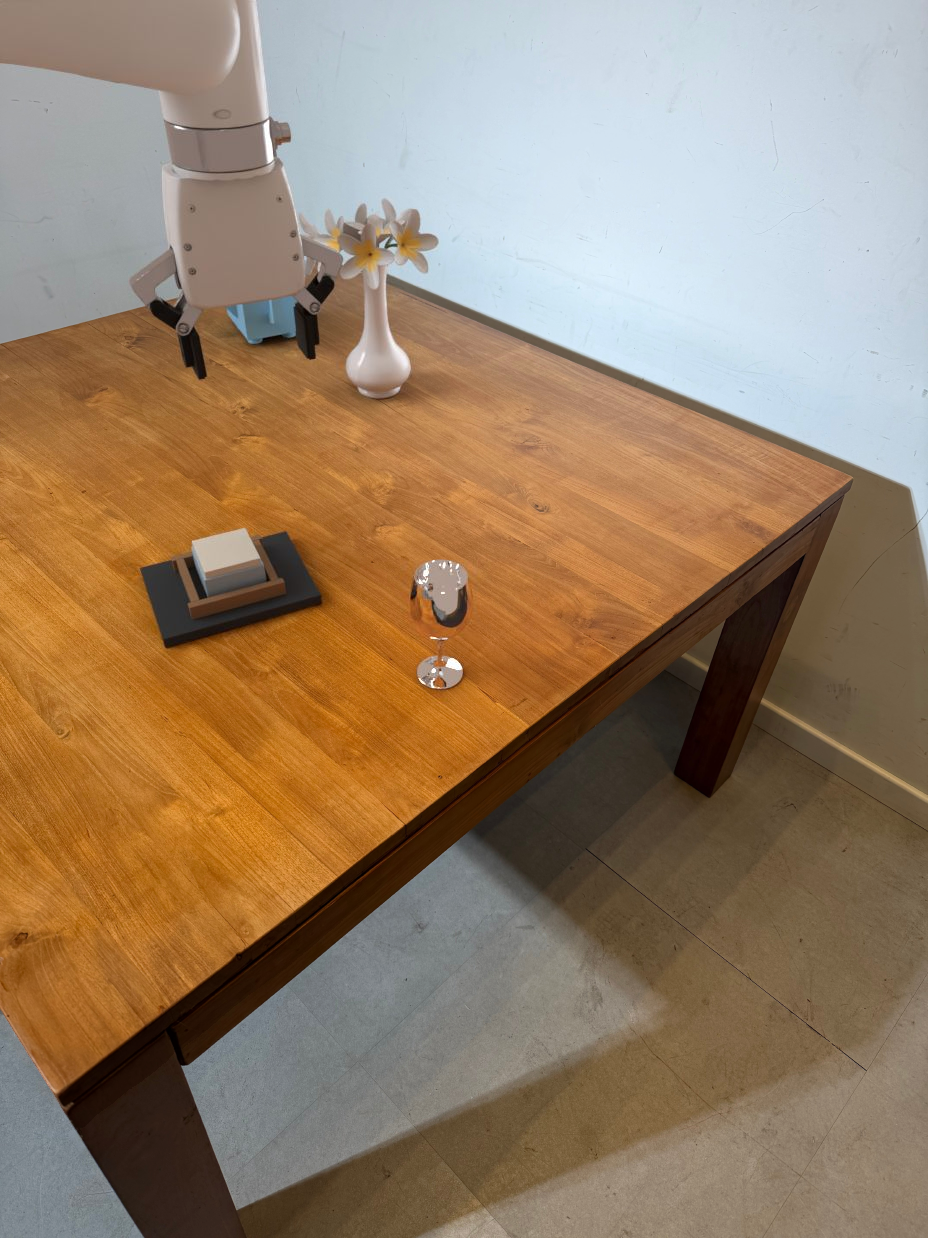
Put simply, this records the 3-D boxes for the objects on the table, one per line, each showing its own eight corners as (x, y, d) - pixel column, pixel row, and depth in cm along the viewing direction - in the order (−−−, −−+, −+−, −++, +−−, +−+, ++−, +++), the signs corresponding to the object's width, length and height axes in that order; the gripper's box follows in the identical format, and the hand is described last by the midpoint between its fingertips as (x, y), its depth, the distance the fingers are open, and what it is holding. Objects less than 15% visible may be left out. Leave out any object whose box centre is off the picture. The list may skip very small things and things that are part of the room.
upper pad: (210, 604, 84) (202, 574, 81) (196, 570, 88) (188, 540, 85) (268, 588, 86) (262, 558, 84) (252, 555, 90) (246, 525, 87)
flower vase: (319, 366, 126) (302, 186, 109) (441, 372, 125) (443, 193, 108) (302, 408, 116) (280, 218, 99) (433, 415, 116) (434, 226, 99)
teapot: (201, 321, 136) (188, 249, 128) (306, 303, 143) (299, 234, 135) (230, 361, 126) (217, 286, 118) (341, 340, 132) (336, 267, 125)
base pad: (165, 648, 81) (159, 627, 79) (142, 576, 89) (136, 555, 87) (322, 603, 87) (319, 583, 85) (287, 539, 94) (284, 519, 93)
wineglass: (417, 699, 77) (416, 603, 69) (403, 656, 81) (401, 560, 73) (476, 688, 78) (482, 592, 70) (460, 646, 83) (464, 551, 74)
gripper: (316, 124, 67) (333, 330, 79) (91, 142, 61) (145, 362, 73) (349, 147, 62) (361, 363, 74) (107, 170, 56) (162, 400, 68)
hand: (254, 362), depth 73 cm, fingers open, 9 cm apart
